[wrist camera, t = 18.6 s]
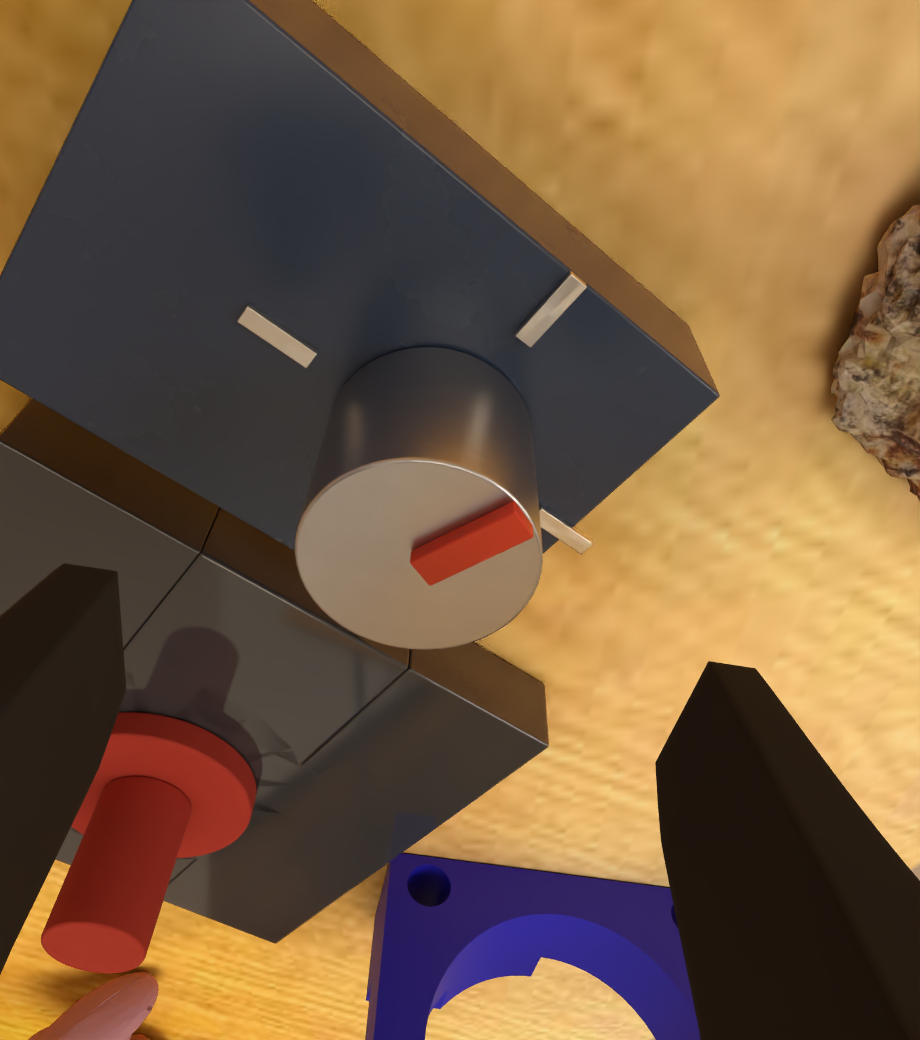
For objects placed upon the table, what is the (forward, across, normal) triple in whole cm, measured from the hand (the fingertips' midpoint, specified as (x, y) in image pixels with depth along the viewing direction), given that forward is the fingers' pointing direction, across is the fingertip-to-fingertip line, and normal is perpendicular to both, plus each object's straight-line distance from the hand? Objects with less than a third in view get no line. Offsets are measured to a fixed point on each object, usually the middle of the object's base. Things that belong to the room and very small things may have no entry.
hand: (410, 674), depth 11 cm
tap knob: (+6, 0, 0) cm, 6 cm away
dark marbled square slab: (+9, +5, +12) cm, 16 cm away
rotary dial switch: (+9, +2, 0) cm, 9 cm away
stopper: (+9, +6, +13) cm, 17 cm away
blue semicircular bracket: (+10, -8, +22) cm, 25 cm away
